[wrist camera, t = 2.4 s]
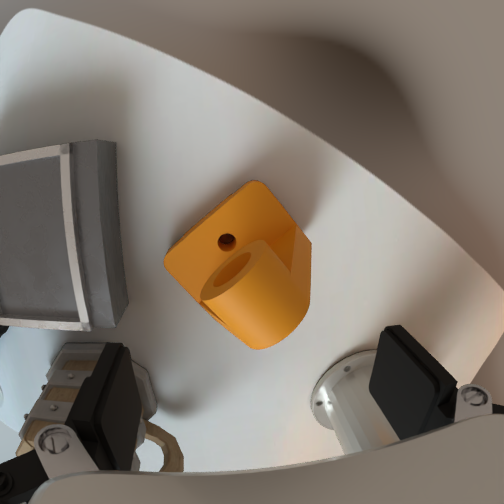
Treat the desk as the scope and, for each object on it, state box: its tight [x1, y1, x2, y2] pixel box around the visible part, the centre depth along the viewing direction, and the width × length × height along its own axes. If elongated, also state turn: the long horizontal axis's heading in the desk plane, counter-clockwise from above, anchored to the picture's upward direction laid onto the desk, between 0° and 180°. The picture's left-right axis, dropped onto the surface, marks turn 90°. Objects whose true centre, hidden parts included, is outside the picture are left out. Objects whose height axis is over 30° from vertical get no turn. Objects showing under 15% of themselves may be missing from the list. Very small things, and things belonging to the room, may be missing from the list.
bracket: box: [164, 180, 311, 349], centre depth 24 cm, size 11×7×12 cm, turn 129°
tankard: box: [16, 343, 184, 472], centre depth 26 cm, size 20×13×15 cm, turn 48°
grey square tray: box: [0, 140, 129, 331], centre depth 24 cm, size 15×15×6 cm
